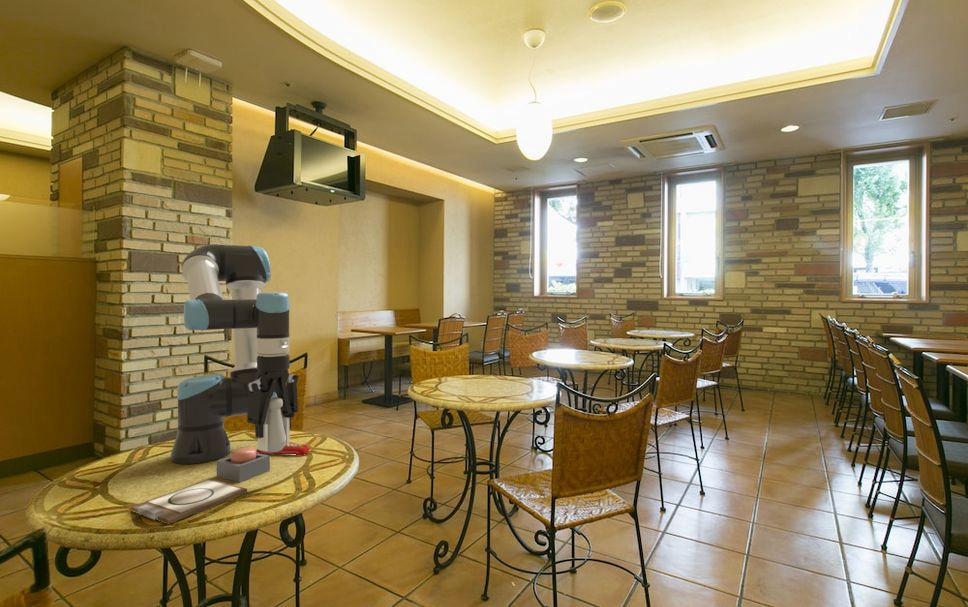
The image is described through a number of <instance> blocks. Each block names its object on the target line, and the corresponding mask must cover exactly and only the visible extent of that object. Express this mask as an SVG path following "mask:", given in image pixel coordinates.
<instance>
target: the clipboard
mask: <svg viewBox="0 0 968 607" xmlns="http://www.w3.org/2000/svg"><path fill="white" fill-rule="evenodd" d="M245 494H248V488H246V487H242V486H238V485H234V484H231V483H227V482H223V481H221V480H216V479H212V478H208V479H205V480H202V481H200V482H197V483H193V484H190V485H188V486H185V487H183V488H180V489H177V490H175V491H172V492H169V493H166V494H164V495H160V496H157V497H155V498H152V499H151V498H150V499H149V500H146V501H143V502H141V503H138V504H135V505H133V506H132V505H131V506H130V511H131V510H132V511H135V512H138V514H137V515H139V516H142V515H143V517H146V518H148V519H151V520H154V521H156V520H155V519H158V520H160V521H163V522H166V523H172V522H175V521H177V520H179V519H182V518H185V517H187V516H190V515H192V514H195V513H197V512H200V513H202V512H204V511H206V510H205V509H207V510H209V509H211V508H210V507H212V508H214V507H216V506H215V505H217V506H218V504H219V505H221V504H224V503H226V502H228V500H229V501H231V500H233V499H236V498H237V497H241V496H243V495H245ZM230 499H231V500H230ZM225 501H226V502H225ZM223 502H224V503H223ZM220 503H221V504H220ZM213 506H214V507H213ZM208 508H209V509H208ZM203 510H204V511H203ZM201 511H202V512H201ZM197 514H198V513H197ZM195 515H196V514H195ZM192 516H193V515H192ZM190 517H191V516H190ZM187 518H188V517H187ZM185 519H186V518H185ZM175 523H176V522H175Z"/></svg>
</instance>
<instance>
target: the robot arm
mask: <svg viewBox="0 0 968 607" xmlns="http://www.w3.org/2000/svg"><path fill="white" fill-rule="evenodd" d="M271 270H272V269H271V263H270V258H269V255H268V253H267V251H266V250H265V248H264V247H262V246H261V247H260V246H252V245H236V244H235V245H234V244H233V245H232V244H218V243H217V244H215V243H214V244H206V245H202V246H200V247H197V248H195V249H193V250H191V251H190V252H189V253H188V254H187V255H186V256H185V258H184V259H183V260H182V263H181V275H182V276H183V278H184V280H185V281H186V282H187V285H188V286H187V287H188V292H189V300H185V302H184V304H183V322H184V328H185V329H186V330H188V331H201V332H202V331H211V330H233V341H234V342H233V344H234V346H233V347H234V361H235V362H234V366H233V368H232V369H231V370H230V372H229V374H230V375H229V376H230V377H224V375H223V373H219V372H216V373H207V374H201V375H197V376H192V377H190V378H186V379H184V380H182V381H181V382H179V384H178V385H177V396H176V401H177V433H176V436H175V440H174V443H173V446H172V449H171V452H170V461H171V462H172V463H175V464H182V465H185V464H186V465H188V464H189V465H190V464H200V463H206V462H210V461H215V460H220V459H221V458H222V459H223V458H225V457H226V456H228V455H229V454H231V451H232V450H231V448H232V447H231V442H230V439H229V437H228V434H227V432H226V429H225V425H224V424H225V423H224V418H228V417H237V416H244V415H247V418H246V421H247V423H248V424H252V425H254V427H255V428H254V429H255V431H254V433H255V434H254V435H255V438H257V449H258V450H261V451H268V424H264V423H265V419H266V415H267V411H268V407H269V403H270V398H273V397H278V398H281V399H282V400H283V406H282V407H281V408H280V411H281V416H282V421H283V425H284V430H285V434H286V444H288V443H290V429H291V428H292V418H294V417H295V414H296V413H298V411H299V404H298V402H299V401H298V380H299V375H298V374H292V373H291V374H290V373H289V369H290V367H291V366H290V365H291V364H290V361H291V360H290V359H291V358H290V354H288V353H290V310H291V305H290V298H289V294H288V293H286V292H263V290H264V288H266V287H267V286H266V284H267V283H268V282H269V281H270V280H271V276H272V272H271ZM220 282H225V288H227V289H228V290H229V291H230V292H231V299H224V296H223V293H222V289H221V285H220Z"/></svg>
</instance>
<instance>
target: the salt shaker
mask: <svg viewBox="0 0 968 607" xmlns="http://www.w3.org/2000/svg"><path fill="white" fill-rule="evenodd" d="M282 406H283V400H282V399H281V398H278V397H273V398H270V403H269V407H268V411H267V415H266V419H265V423H264V424H268V451H266V452H269V453H270V452H278V451H280V450H282V449H283V447H284V445H285V443H286V434H285V430H284V425H283V421H282V417H283V415H282V412H281V407H282Z"/></svg>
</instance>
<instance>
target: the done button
mask: <svg viewBox="0 0 968 607" xmlns="http://www.w3.org/2000/svg"><path fill="white" fill-rule="evenodd" d="M256 450H257V449H256V448H255V447H252V446H247V447H240V448H236V449H234V450H231V451H230V457H231V462H233V463H237V464H243V463H246V462H249V461H251V460H254V459H256V453H257V452H256Z"/></svg>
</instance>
